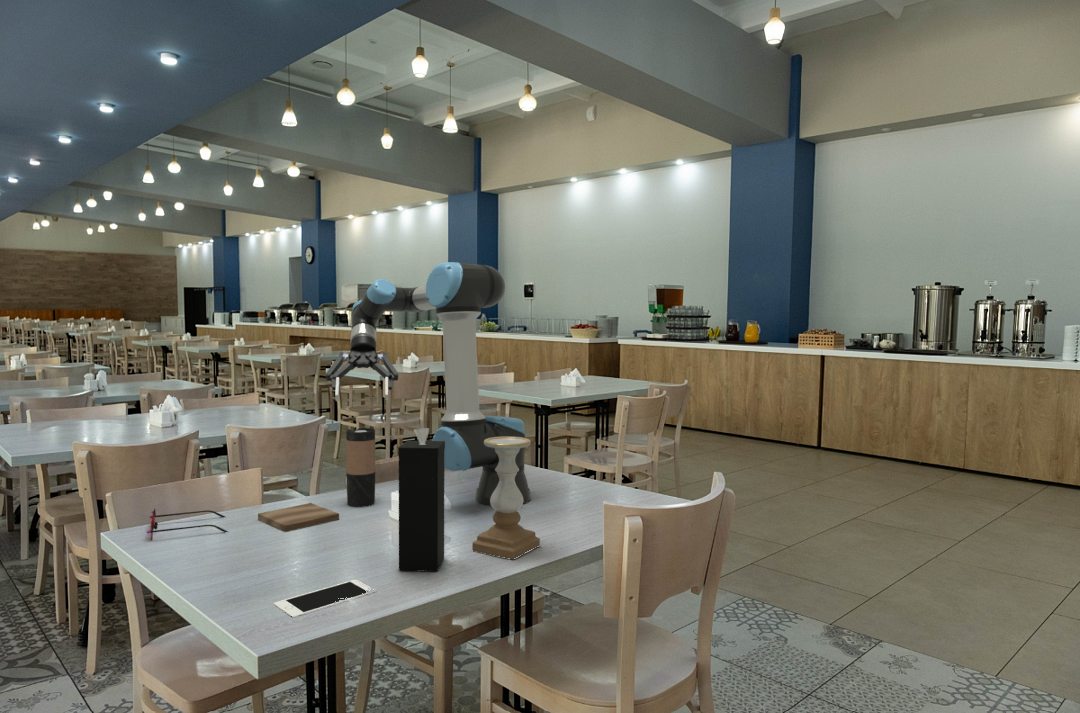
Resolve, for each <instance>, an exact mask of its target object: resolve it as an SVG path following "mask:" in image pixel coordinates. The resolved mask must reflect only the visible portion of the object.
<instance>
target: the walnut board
mask: <svg viewBox="0 0 1080 713" xmlns="http://www.w3.org/2000/svg"><path fill="white" fill-rule="evenodd" d="M257 520H258V521H260V522H263V523H265V524H267V525H270V526H271V527H273V528H276V529H278V530H280V531H283V532H284V533H286V532H290V531H291V530H292V531H295V530H299V529H303V528H304V529H305V528H309V527H312V526H318V525H321V524H325V523H330V522H334V521H338V520H340V513H338V512H336V511H333V510H332V509H328V508H325V507H322V506H320V505H317V504H314V503H312V502H309V503H305V504H299V505H294V506H289V507H284V508H279V509H274V510H270V511H269V510H268V511H264V512H260V513H257Z"/></svg>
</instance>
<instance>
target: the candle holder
mask: <svg viewBox="0 0 1080 713" xmlns="http://www.w3.org/2000/svg"><path fill="white" fill-rule="evenodd" d="M484 445H485V446H487V447H491V448H495V452H496V453H497V455H498V457H499V463H498V465H497V467H496V468H495V471H496V472H497V474H498V476H499V483H498V485H497V487H496V489H495V490H494V492H493V493H492V495H491V498H490V504H491V505H490V506H491V508H492V509H493V510H495V512H494V513H493V516H492V521H493V522H494V524H493V525H492V526H490V527H489V529H488V530H485V531H483V532H481V533H479V534H478V535H477V536H476V540H475V541H473V542H472V548H471V550H473V552H475V551H477V552H476V553H478V552H482V553H481V554H483V553H486V554H485V555H487V554H491V555H495V556H494V557H496V556H500V557H505V558H510V559H514V558H516V557H518V556H520V555H522V554H524V553H525V552H527V551H529V550H531V549H533V548H535V547H537V546H539V545H540V546H541V542H540V541H541V540H540V539H541V538H540V537H538V536H536V532H535V531H534V530H530V529H527V528H526V529H525V528H524V527H523V526H522V525H520V524H519V522H521V514H520V512H519V510H520V509H521V508H522V506H523V505H524V504H523V501H524V500H523V496H522V494H521V492H520V490H519V489H518V487H517V485H516V483H515V476H516V474H517V472H518V471H519V468H518V467H517V465H516V463H515V457H516V455H517V454H518V452H519V450H520V448H524V447H525V448H527V447H529V446H530V445H531V440H530V438H526V437H525V438H523V437H511V436H503V437H492V438H487V439H485V440H484ZM491 555H490V556H491ZM500 557H499V558H500Z"/></svg>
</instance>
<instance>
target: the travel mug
mask: <svg viewBox="0 0 1080 713" xmlns="http://www.w3.org/2000/svg"><path fill="white" fill-rule="evenodd" d="M345 435H346V440H345V441H346V442H345V444H346V446H345V448H346V449H345V450H346V451H345V453H346V456H345V465H346V466H345V473H346V474H345V475H346V476H345V477H346V478H345V479H346V501H347V506H349V507H351V508H352V507H353V508H364V507H363V506H366V507H369V505H370V506H373V505H374V504H375V503H374V502H375V500H376V499H375V498H376V475H377V474H376V471H377V470H376V468H377V467H376V430H375V428H371V427H358V428H357V429H355V430H354V429H353V430H351V429H350V428H349V429H347V430H346V433H345ZM372 504H373V505H372Z"/></svg>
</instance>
